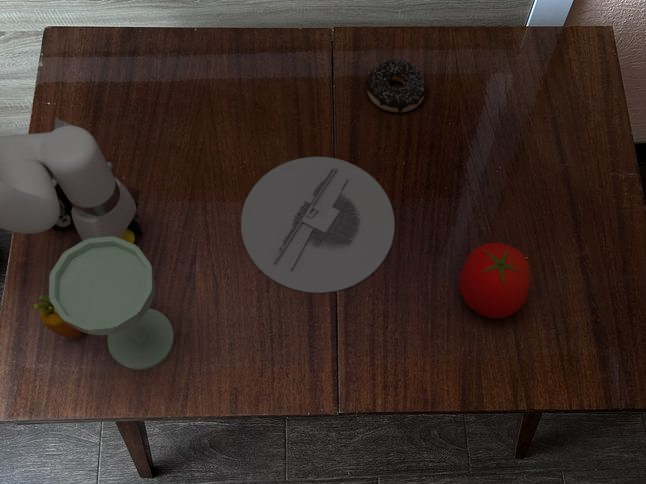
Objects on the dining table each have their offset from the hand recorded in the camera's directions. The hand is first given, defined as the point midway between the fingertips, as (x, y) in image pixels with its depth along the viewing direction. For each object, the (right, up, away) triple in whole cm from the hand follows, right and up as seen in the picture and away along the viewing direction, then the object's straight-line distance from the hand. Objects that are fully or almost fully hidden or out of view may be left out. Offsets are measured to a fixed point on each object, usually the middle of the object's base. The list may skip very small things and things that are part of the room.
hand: (124, 246), depth 123 cm
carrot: (-7, -16, -5) cm, 18 cm away
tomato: (+64, -9, 0) cm, 65 cm away
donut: (+49, +32, +14) cm, 61 cm away
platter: (+5, -10, -25) cm, 27 cm away
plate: (+34, +5, +4) cm, 35 cm away
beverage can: (-12, +6, +2) cm, 13 cm away
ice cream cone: (-9, +15, +6) cm, 19 cm away
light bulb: (0, 0, +1) cm, 1 cm away
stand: (+4, -17, -5) cm, 18 cm away
